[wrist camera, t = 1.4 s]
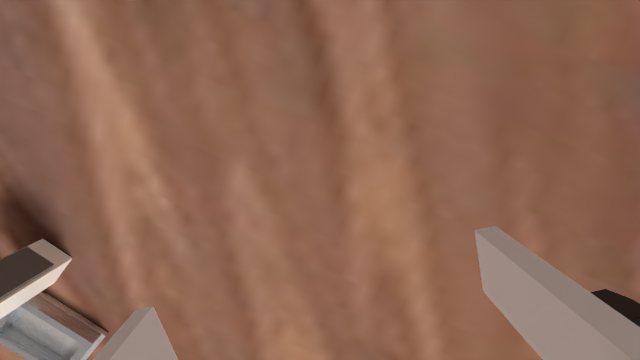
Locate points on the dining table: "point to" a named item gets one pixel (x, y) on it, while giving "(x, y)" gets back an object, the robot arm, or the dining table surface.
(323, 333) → the dining table surface
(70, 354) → the rail
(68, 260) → the block
